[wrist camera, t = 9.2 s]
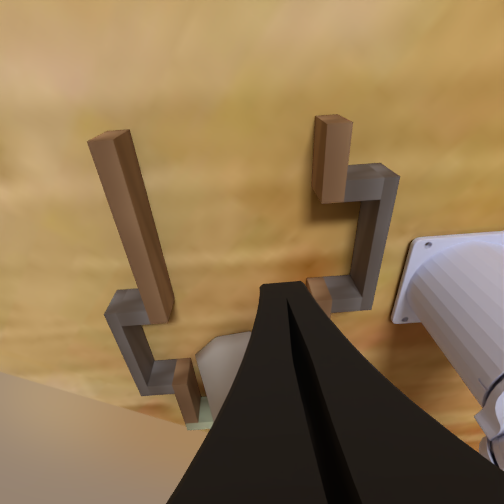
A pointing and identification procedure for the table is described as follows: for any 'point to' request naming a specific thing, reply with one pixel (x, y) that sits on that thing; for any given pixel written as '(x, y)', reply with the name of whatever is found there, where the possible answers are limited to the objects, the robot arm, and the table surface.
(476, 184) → the table surface
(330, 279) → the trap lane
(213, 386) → the flask
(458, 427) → the table surface
